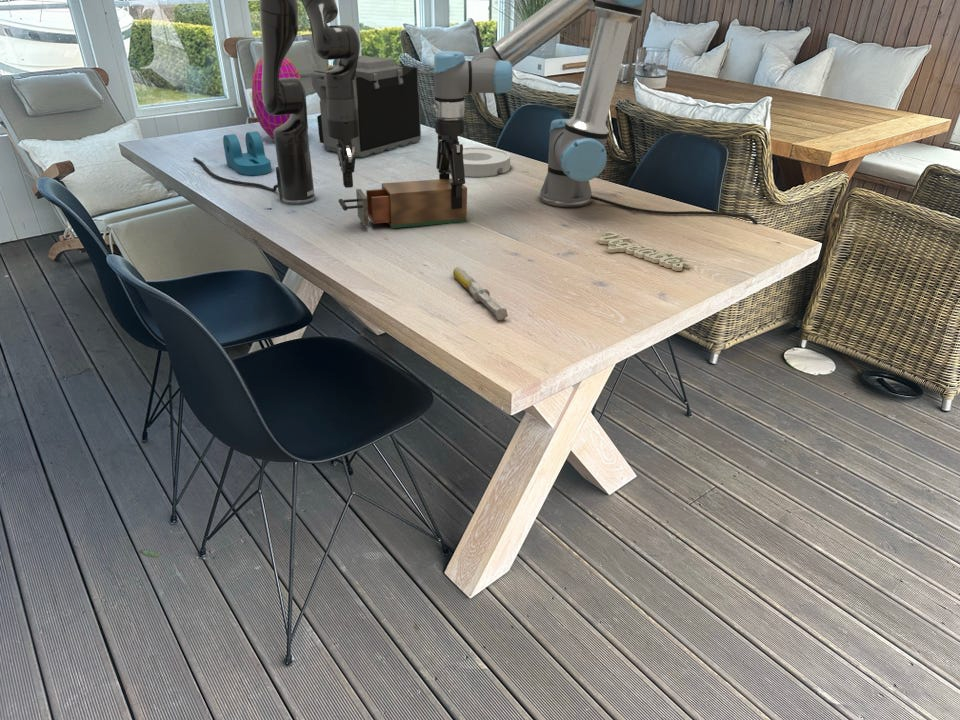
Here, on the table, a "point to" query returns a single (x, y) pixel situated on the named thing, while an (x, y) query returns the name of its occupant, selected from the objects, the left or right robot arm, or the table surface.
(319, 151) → the table surface
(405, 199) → the cabinet
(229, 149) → the camera mount
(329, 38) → the left robot arm
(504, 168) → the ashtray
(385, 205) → the drawer
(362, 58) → the electronic device
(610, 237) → the decorative sign
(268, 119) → the decorative egg
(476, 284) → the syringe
